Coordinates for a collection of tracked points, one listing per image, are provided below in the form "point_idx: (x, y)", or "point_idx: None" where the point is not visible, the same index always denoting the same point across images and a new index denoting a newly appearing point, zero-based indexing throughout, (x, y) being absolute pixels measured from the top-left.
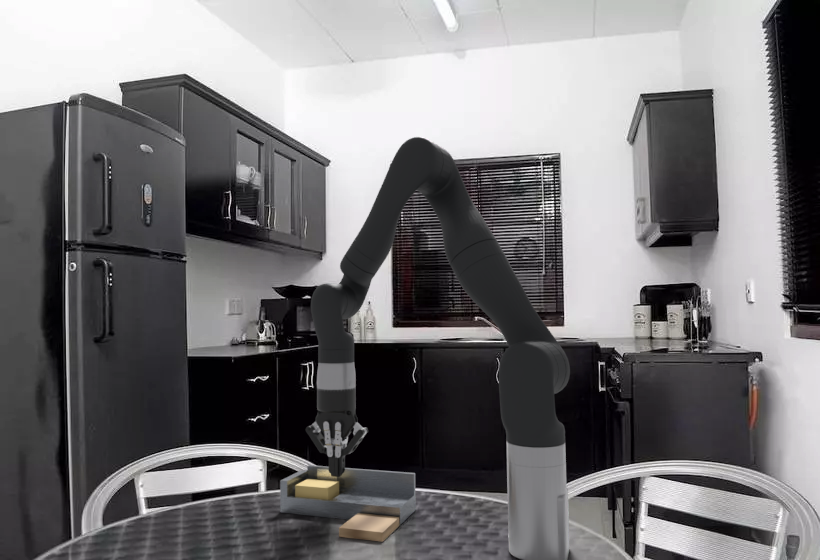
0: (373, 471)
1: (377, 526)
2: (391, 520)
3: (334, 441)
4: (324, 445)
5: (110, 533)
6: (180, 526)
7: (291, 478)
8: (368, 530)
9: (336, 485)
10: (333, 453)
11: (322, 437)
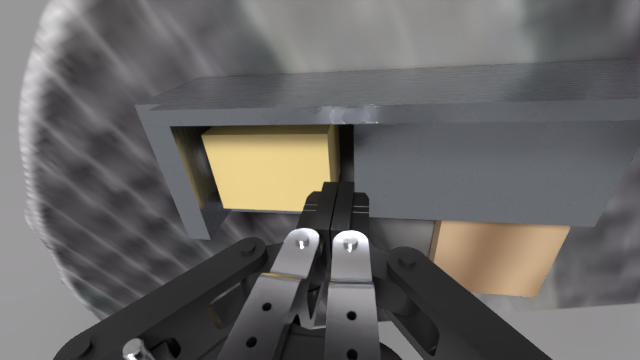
0: (495, 120)
1: (517, 273)
2: (552, 240)
3: (306, 323)
4: (246, 285)
5: (99, 299)
6: (142, 270)
7: (199, 215)
8: (499, 292)
9: (330, 152)
10: (323, 282)
11: (200, 309)
